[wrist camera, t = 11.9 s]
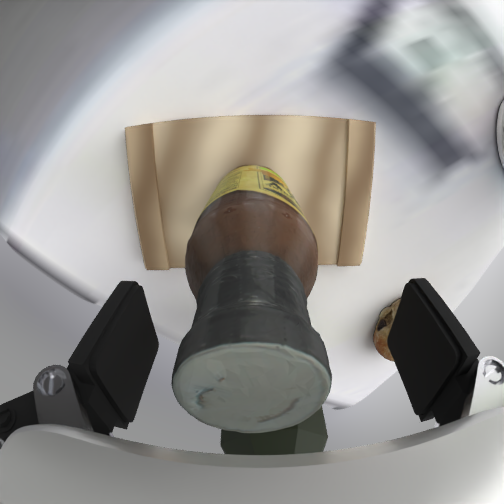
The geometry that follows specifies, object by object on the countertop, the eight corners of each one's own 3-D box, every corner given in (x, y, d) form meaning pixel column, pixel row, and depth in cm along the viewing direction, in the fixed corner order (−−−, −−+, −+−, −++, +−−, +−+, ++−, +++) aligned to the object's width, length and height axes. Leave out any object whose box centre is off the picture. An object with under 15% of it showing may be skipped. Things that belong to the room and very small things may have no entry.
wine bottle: (285, 347, 34) (311, 587, 7) (222, 334, 33) (202, 593, 6) (312, 297, 31) (380, 587, 4) (241, 279, 30) (231, 616, 3)
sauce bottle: (296, 216, 25) (378, 426, 7) (231, 238, 26) (204, 460, 8) (273, 148, 22) (370, 271, 4) (204, 174, 23) (83, 348, 5)
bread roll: (392, 272, 34) (394, 302, 27) (453, 296, 31) (465, 329, 24) (364, 329, 38) (358, 364, 31) (421, 349, 35) (423, 386, 28)
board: (369, 121, 22) (377, 122, 21) (356, 256, 29) (362, 265, 27) (131, 127, 22) (122, 128, 21) (149, 261, 29) (144, 270, 27)
